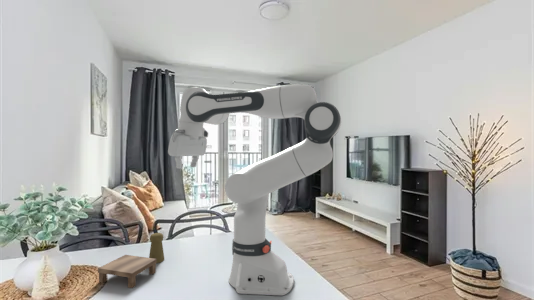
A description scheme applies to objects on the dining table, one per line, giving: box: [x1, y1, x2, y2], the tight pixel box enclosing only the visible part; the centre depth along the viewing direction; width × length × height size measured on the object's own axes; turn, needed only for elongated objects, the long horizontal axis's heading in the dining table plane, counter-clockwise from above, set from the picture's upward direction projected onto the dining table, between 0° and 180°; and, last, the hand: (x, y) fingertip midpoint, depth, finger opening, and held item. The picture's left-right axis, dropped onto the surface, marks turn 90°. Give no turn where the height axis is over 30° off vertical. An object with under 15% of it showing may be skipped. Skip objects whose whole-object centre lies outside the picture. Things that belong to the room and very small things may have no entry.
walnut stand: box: [97, 254, 158, 289], centre depth 95 cm, size 14×12×5 cm
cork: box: [148, 232, 165, 264], centre depth 109 cm, size 6×6×11 cm
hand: (186, 167), depth 100 cm, fingers open, 8 cm apart
